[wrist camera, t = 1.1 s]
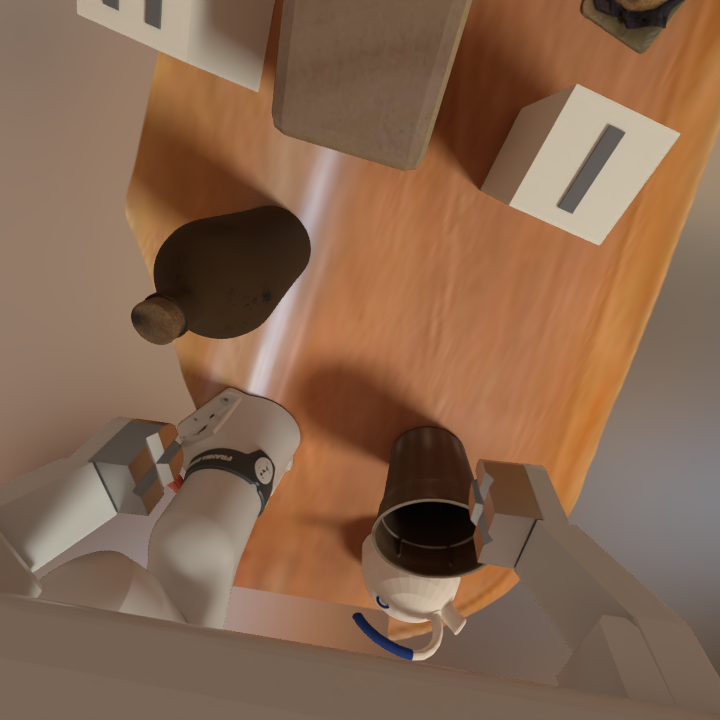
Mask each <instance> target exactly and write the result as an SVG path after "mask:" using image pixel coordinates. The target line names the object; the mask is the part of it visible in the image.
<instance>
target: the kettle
mask: <svg viewBox="0 0 720 720" xmlns="http://www.w3.org/2000/svg"><path fill="white" fill-rule="evenodd" d="M362 574H363V578H364V581H365V585H366V588H367V590H368V592H369V593H370V595H371V597H372V598H373V600H374V601H375V603H376V604H377V605H378V606H379V607H380V608H381V609H382V610H383V611H385V612H386V613H387V614H388V615H390V616H391V617H393V618H395V619H397V620H401V621H404V622H411V623H419V622H425V621H431V623H432V627H433V636H432V641H431V642H430V644H429V645H428V646H427V647H425V648H424V649H422V650H412V649H409V648H406V647H403V646H400V645H398V644H396V643H394V642H392V641H390V640H389V639H387V638H386V637H384V636H383V635H381V634H380V633H379V632H377V631H376V630H375V629H374V628H373V627H372V626H371V625H370V624H369V623H368V622H367V621H366V620H365V618H364V617H363V615H362V614H361V613H355V614H353V616H352V617H353V619H354V620H355V622H356V624H357V625H358V626H359V627H360V628H361V630H362V631H363V632H364V633H365V634H366V635H367V636H368V637H369V638H371V639H372V640H373V641H374V642H375V643H377V644H378V645H380V646H381V647H382V648H384V649H386V650H388V651H390V652H392V653H393V654H395V655H397V656H400V657H402V658H405V659H408V660H424V659H426V658H428V657H429V656H431V655H433V654H434V653H435V651H436V650H437V648H438V647H439V645H440V643H441V639H442V635H443V627H442V620H443V621H444V622H445V623H446V624H447V625H448V626H449V627H450V628H451V630H452V631H453V632H454V634H455V635H457V634H458V633H459V632H460V630H461V629H462V628H463V626H464V625H465V623H466V618H464V617H463V616H462V615H461V614H460V613H459V611H458V610H457V609H456V608H455V607H454V605H453V604H452V603H451V602H452V600H453V599H454V597H455V594H456V592H457V589H458V585H459V582H460V577H457V578H448V579H438V578H423V577H418V576H414V575H410V574H407V573H404V572H402V571H400V570H398V569H396V568H394V567H392V566H391V565H389V564H388V563H387V562H385V561H384V560H383V559H382V558H381V557H380V556H379V555H378V553H377V552H376V550H375V549H374V546H373V544H372V540H371V534H370V535H368V536H367V537H366V539H365V541H364V542H363V544H362ZM441 619H442V620H441Z"/></svg>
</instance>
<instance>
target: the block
mask: <svg viewBox="0 0 720 720" xmlns="http://www.w3.org/2000/svg"><path fill="white" fill-rule="evenodd" d="M472 1H473V0H283V7H282V17H281V26H280V36H279V46H278V55H277V65H276V75H275V84H274V94H273V103H272V116H273V121H274V126H275V127H276V128H277V129H278V130H279V131H281V132H282V133H283V134H284V135H286V136H290V137H293V138H296V139H300V140H303V141H306V142H310V143H313V144H316V145H320V146H323V147H326V148H330V149H333V150H336V151H340V152H343V153H346V154H350V155H353V156H356V157H360V158H363V159H366V160H370V161H373V162H376V163H380V164H383V165H386V166H390V167H393V168H396V169H400V170H403V171H407V170H414V169H417V167H418V166H419V165H420V163H421V162H422V161H423V159H424V158H425V154H426V151H427V148H428V145H429V141H430V138H431V135H432V132H433V128H434V125H435V122H436V119H437V115H438V112H439V109H440V105H441V102H442V99H443V96H444V92H445V89H446V86H447V83H448V79H449V76H450V73H451V69H452V66H453V63H454V60H455V56H456V53H457V50H458V47H459V43H460V40H461V37H462V33H463V30H464V27H465V24H466V20H467V17H468V14H469V11H470V7H471V4H472Z"/></svg>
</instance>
